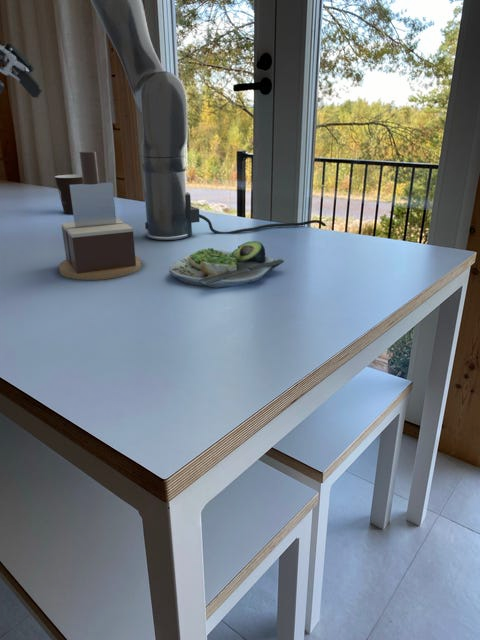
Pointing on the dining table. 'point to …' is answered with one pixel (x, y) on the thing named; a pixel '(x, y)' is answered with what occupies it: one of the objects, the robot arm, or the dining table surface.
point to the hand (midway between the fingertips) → (20, 92)
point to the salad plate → (225, 266)
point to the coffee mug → (67, 190)
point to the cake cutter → (92, 195)
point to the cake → (98, 251)
